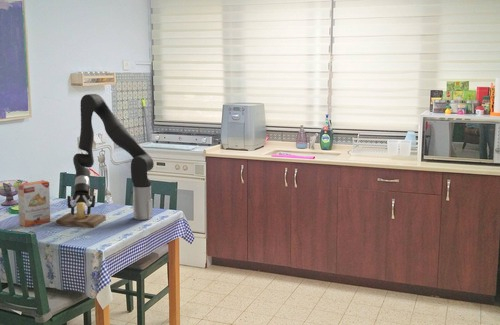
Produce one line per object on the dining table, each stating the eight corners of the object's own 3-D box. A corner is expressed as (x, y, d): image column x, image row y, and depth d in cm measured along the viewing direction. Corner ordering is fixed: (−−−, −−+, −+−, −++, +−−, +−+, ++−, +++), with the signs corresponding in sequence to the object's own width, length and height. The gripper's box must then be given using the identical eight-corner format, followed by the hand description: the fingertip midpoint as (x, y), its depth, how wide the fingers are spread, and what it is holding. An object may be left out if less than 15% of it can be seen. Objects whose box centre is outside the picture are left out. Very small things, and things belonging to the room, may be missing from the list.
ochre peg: (86, 221, 281) (86, 202, 279) (83, 223, 277) (82, 204, 275) (79, 221, 282) (78, 202, 280) (75, 223, 278) (75, 203, 276)
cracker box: (25, 227, 268) (23, 185, 265) (18, 225, 272) (16, 183, 268) (51, 221, 279) (49, 181, 276) (44, 219, 283) (42, 179, 279)
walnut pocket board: (105, 219, 285) (105, 215, 284) (94, 227, 271) (94, 222, 271) (69, 217, 288) (68, 212, 287) (55, 224, 274) (55, 220, 274)
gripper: (66, 182, 282) (64, 210, 273) (96, 182, 285) (94, 210, 275) (68, 190, 288) (66, 218, 279) (96, 189, 291) (96, 217, 282)
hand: (80, 214), depth 277 cm, fingers open, 6 cm apart
